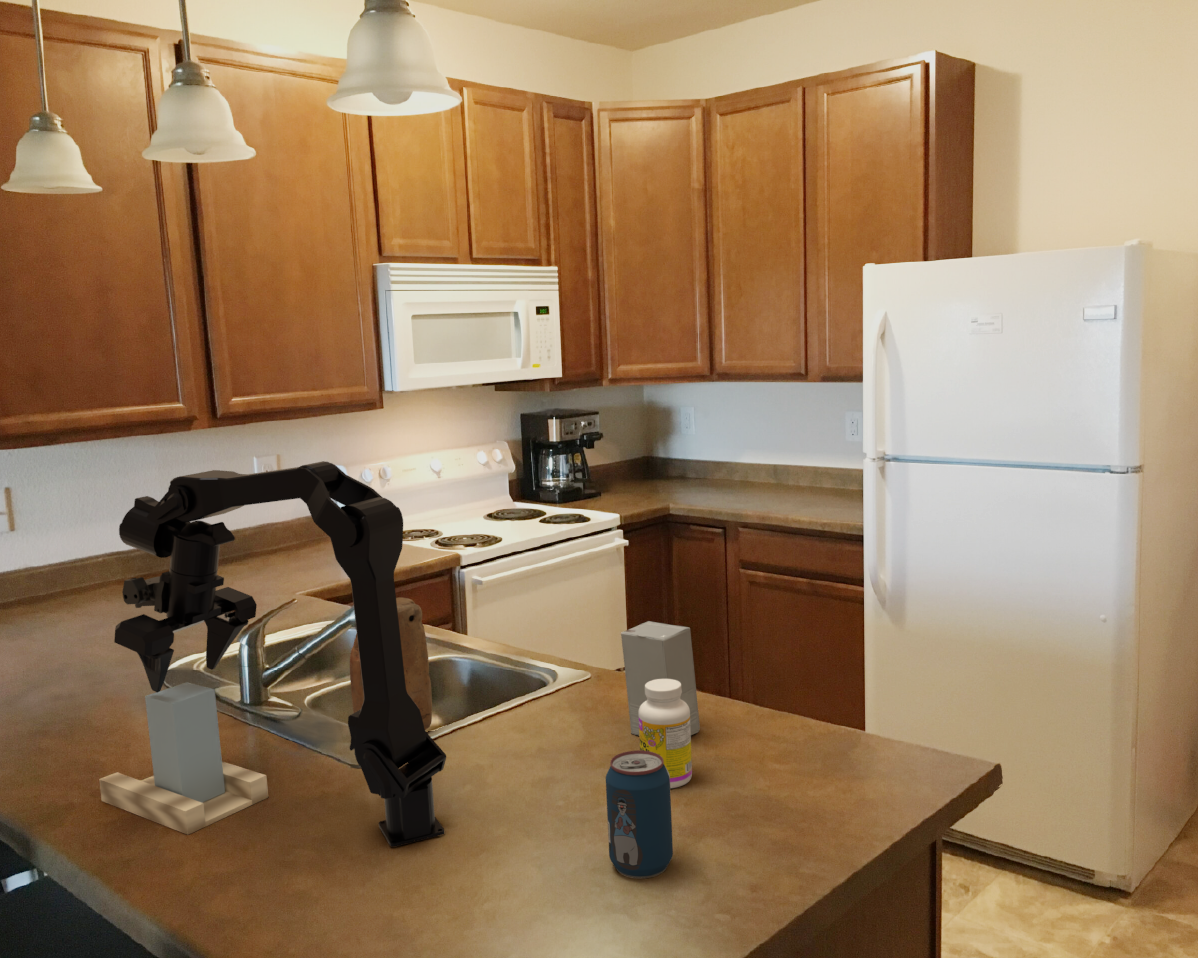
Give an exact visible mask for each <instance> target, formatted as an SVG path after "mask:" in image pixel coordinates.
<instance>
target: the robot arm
mask: <svg viewBox="0 0 1198 958" xmlns="http://www.w3.org/2000/svg"><path fill="white" fill-rule="evenodd" d="M169 484H170V485H169V486H168V490H167V491H166V493H165V494H164V496H162V498H161V499H160V500H157V499H155V498H154V497H151V496H149V495H147V496H146V495H144V496H140V497H136V498H135V499H134V503H133V504H134V505H133V507H132V508H130V509H129V510H128V511H127V512H126V513H125V515H124V517H123V518H122V521H121V523H120V524H119V527H118V535H119V537H120V540H121V541H122V542H123V543H124V544H125V545H127V546H129V547H131V548H132V547H133V548H135V549H137V550H139V551H142V552H145V553H147V554H149V555H152V556H156V557H158V558H161V559H162V558H163V559H164V558H165V559H166V558H169V557H170V561H169V570H168V571H165V572H162V573H161V575H160V576H154V577H150V578H147V579H145V578H144V577H138V578H137V577H132V578H129V579H125V580H124V581H123V587H122V591H121V592H122V597H123V601H124V603H125V604H126V605H134V608H136V609H139V608H142V607H154V608H153V610H154V612H157V613H159V614H163V613H164V614H166V618H163V619H159V620H158V619H157V618H154V617H152V616H150V615H147V614H144V613H143V614H140V615H137V616H134V617H131V618H128V619H125V620H122V621H120V622H119V623H117V624H116V625H115V629H114V641H113V642H114V643H115V644H117V645H119V646H122V647H124V648H126V649H129V650H130V651H133V652H135V653H137V655H138V657H139V659H140V661H141V663H142V666H143V668H144V671H145V674H146V678H147V681H148V683H149V685H150V689H151V690H152V691H153V692H154V693H156V692H160V691H162V689H163V685H164V682H165V681H166V676H167V675H168V674H167V673H168V671H169V667H170V664H171V661H172V659H173V655H174V651H175V650H174V649H173V648H171V647H172V645H173V644H174V640H175V633H177V632H180V631H183V630H186V629H189V628H191V627H194V626H197V625H200V624H203V623H205V625H206V630H207V631H206V632H207V633H206V634H207V635H206V651H205V662H206V664H205V665H206V668H207V669H208V670H209V669H210V670H211V671H212V670H215V669H216V667H217V665H218V664H219V663H220V661H221V660H222V658H223V656H224V655H226V652H227V651H228V649H229V648H230V646H231V645H232V643H233V642H234V641H235V639H236V638H237V637H238V635H239V634H240V633H241V631H242V629H243V628H245V627H246V626H247V625H249V621H250V620H251V619H254V618H256V615H257V606H258V605H257V602H256V600H255V599H254V597H253V596H252V595H250V594H247V593H245V592H243V591H240V590H237V589H234V588H231V587H230V586H225V587H222V588H220V589H217V588H218V587H221V586H224V582H225V577H224V576H222V575H221V576H220V575H218V569H219V559H220V549H221V547H220V546H221V545H224V544H227V543H231V542H232V543H233V542H234V541H235V540H236V537H235V535H234V534H233V532H232V531H231V530H229V528H227V526H226V525H225V522H223V521H219V522H215V523H208V522H206V521H204V520H203V519H207V518H211V517H215V516H220V515H224V514H226V513H229V512H233V511H235V510H238V509H240V508H241V509H242V507H244V506H251V505H257V504H265V503H273V502H281V501H289V500H296V499H301V501H303V502H304V503H305V505H306V506H307V509H308V511H309V514H310V515H311V518H312V521H313V522H314V524H315V525H316V526H317V527H318V528H319V529H320V530H321V531H322V532H324V533H325V534H326V535H327V536H328V537H329V538H330V543H331V547H332V550H333V554H334V557H335V560H336V561H337V564H338V565H339V566H340V567H341V569H342V570H343V572H344V573H345V575H347V577H348V578H349V581H350V586H351V594H352V603H353V610H354V611H353V612H354V620H355V629H356V630H355V631H356V634H357V639H358V648H359V657H360V665H361V674H362V683H363V692H364V701H363V704H362V707H361V709H360V710H359V711H357V712H355V713H354V712H353V713H352V714H350V715H348V718H347V725H348V730H349V733H350V734H349V735H350V745H349V750H350V751H353V750H354V756H355V761H356V762H357V764H358V766H359V767H360V768H361V771H362V774H363V776H364V779H365V781H366V784H367V787H368V790H369V792H370V793H371V794H373V795H378V796H380V798H381V799H384V801H383V802H384V815H385V820H380V821H379V822H378V828H379V829H380V831H381V833H382V835H383V837H384V838H385V840H386V841H387V843H388V845H389V846H390V847H391V848H392V847H393V848H395V847H398V846H404V845H407V844H411V843H416V842H419V841H424V840H427V839H432V838H435V837H438V836H443V835H445V828H444V827H443V825H442V824H441V823H440V821H439V820H438V819H437V817H436V815H435V805H434V804H435V802H434V788H433V777H434V776H435V775H436V774H437V773H439V772H442V771H443V770H444V767H445V763H446V760H447V754H446V753H445V752H444V750H443V749H442V748H441V747H440V746H439V745H438V744H437V743H436V742H435V739H433V738H432V737H431V735H429V733H428V732H427V731H426V730H425V728H424V724H423V720H422V716H421V712H420V710H419V708H418V706H417V705H416V704H415V702H414V701H413V700H412V698H411V697H410V696H409V694H408V693H407V690H406V684H405V675H404V666H403V657H402V648H401V639H400V629H399V620H398V611H397V602H396V598H397V594H396V585H395V570H396V567H397V564H398V561H399V559H400V557H401V552H402V550H403V544H404V543H403V539H404V518H403V514H402V511H401V510H400V508H399V507H398V506H396V504H395V503H393V501H391V500H389V499H388V498H386V497H383V496H381V494H380V493H378V492H377V491H376V490H375V489H374V488H372V487H371V486H370V485H367V484H365V483H363V482H362V481H359V480H357V479H355V478H353V477H351V476H350V475H347V474H346V473H345V472H344V471H343V470H342V469H340V467H338V465H335V464H334V463H333V462H330V461H325V460H324V461H322V460H321V461H318V462H313V463H308V464H303V465H300V466H297V467H289V468H284V469H283V468H281V469H276V470H275V469H274V470H269V471H262V472H254V473H248V474H243V473H239V472H237V471H236V472H235V471H232V470H231V471H230V470H229V471H228V470H219V469H218V470H217V469H212V470H208V471H202V472H197V473H196V472H195V473H193V474H191V473H190V474H185V475H180V476H177V477H173V478H172V479H171V480H170V482H169ZM336 502H338V503H339V504H342V505H343V506H339V505H338V504H337V503H336ZM216 589H217V590H216Z"/></svg>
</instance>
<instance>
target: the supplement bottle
mask: <svg viewBox="0 0 1198 958" xmlns="http://www.w3.org/2000/svg"><path fill="white" fill-rule="evenodd" d="M681 693H682V689H681V683H680V682H679V681H677V680H673V679H656V680H652V681H649V682H647V683H646V684H645V695H646V697H647V700H646V701H645V702H644V703H642V705H641V706H640V708H639V712H638V714H639V739H638V740H639V750H643V751H650V752H654V753H656V754H658V755H660V756H661V757H662V758H663V760H664V765H665V767H666V769H667V770H668V772H669V775H670V789H677V788H679V787H682V786H685V785H687V784H688V783H689V782H690V781H691V779H692V775H693V762H692V761H693V759H692V735H691V731H690V709H689V706H688V705H687V704H686V702H684V701H683V700H681V699H680V696H681Z"/></svg>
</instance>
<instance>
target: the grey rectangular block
mask: <svg viewBox="0 0 1198 958" xmlns="http://www.w3.org/2000/svg"><path fill="white" fill-rule="evenodd" d="M144 699H145V709H146V718H147V728H148V735H149V744H150V755H151V762H152V772H153V776H154V783H155V786H157V787H160V788H162V789H165V790H168V791H171V792H174V793H176V794H179V795H182V796H185V797H188V798H190V799H193V800H196V801H199V802H201V803H203V802H205V801H207V800H209V799H212V798H214V797H216V796H218V795H221V794H223V793H225V787H224V777H223V767H222V761H223V759H222V749H221V740H220V729H219V720H218V711H217V710H218V709H217V699H216V691H215V688H211V687H207V686H203V685H199V684H196V683H191V682H188V681H186V682H183V683H180V684H177V685H175V686H171V687H167V688H165V689H163V690H162V689H161V690H160V692H153V693H150V694H147V695H145V696H144Z"/></svg>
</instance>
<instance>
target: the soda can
mask: <svg viewBox="0 0 1198 958" xmlns="http://www.w3.org/2000/svg"><path fill="white" fill-rule="evenodd" d="M609 763H610V764H609V765H610V766H609V768H608V771H607V773H606V775H605V792H606V794H605V795H606V796H605V797H606V815H607V817H606V818H607V836H608V840H607V841H608V856H609V859H610V862H611V864H612V865H613V866H614V868H616V869H615V870H617V872H618V873H619V874H621V875H622V876H624V877H627V878H631V879H638V880H639V879H640V880H641V879H650V878H653V877H657V876H659V875H661V874H663V872H665V871H666V870H667V868H668V866H669V864H670V863H671V861H672V859H673V855H674V847H673V826H672V825H673V820H672V798H671V797H672V796H671V788H670V775H669V772H668V770H667V769H666V767H665V765H664V760H663V758H662V757H661V756H660V755H658V754H656V753H654V752H650V751H643V750H640V749H639V750H628V751H624V752H621V753H618V754H616V755H615V756H613V757H612V758H611V760H610V762H609Z"/></svg>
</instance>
